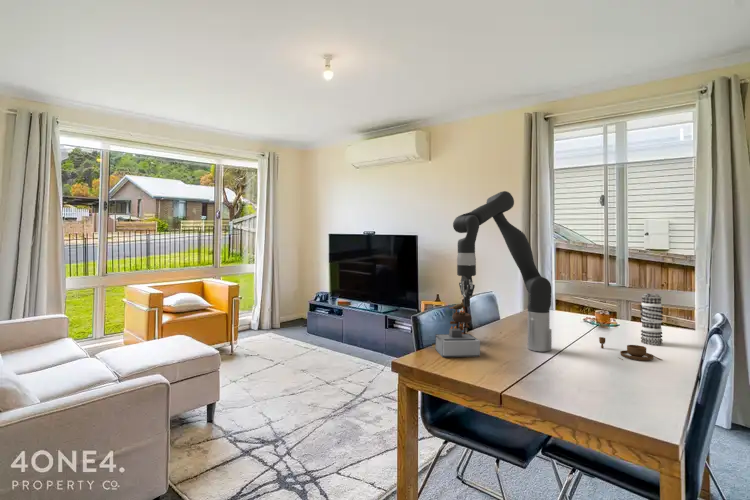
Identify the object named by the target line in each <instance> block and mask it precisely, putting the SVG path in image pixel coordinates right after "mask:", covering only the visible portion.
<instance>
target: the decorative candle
mask: <svg viewBox="0 0 750 500" xmlns="http://www.w3.org/2000/svg"><path fill="white" fill-rule="evenodd" d="M639 308H640V321H641V329H640V332H641V333H640V335H641V337H640V342H641V343H642V344H644V345H649V346H657V347H658V346H662V345H663V332H662V331H663V330H662V323H663V320H664V319H663V317H664V316H663V315H662V314H663V313H664V311H663V310H664V308H663V307H662V297H661V296H660V294H658V293H652V292H651V293H648V292H646V293H644V294H643V295H641V305H640V306H639Z"/></svg>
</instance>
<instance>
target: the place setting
mask: <svg viewBox="0 0 750 500" xmlns="http://www.w3.org/2000/svg"><path fill="white" fill-rule="evenodd" d="M598 341H599V343H600V344H601V345H600V348H601V349H604V345H605V344H606V337H601V336H600V337H598ZM619 353H620V356H621V357H623V358H625V359H628V360H632V361H633V360H634V361H638V362H639V361H641V362H649V361H652V360H653V359H654V358H656V359H658V360H660V361H663V359H662V358H659V357H657V356H655V355H653V354H652V353H648V352H647V347H646V346H643V345H637V344H627V345H626V349H625V350H620V352H619ZM617 359H620V360H621V361H624V359H622V358H620V357H617Z"/></svg>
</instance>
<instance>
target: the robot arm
mask: <svg viewBox="0 0 750 500" xmlns="http://www.w3.org/2000/svg"><path fill="white" fill-rule="evenodd" d="M514 205H515V200H514V197H513V195H512V193H511V192H509V191H506V190H504V191H500V192H498V193H496V194H494V195H492V196H490V197H488V198H487V199H486V203H485V204H482V205H480V206H479V207H477V208H475V209H473V210H471V211H469V212H466V213H463V214H461V215H458V216H456V217H455V219H454V220H453V223H452V227H453V230H454V231H455V232H456V233H459V234H465V233H466V235H465V237H463V238H460V239H458V240H457V256H456V257H457V258H456V271H457V272H456V274H457V276H459V277H461V278H460V282H458V286H459V289H460V290H459V291H460V293H461V296H462V298H463V303H464V308H465V307H470V306H471V297H472V296H473V294H474V290H475V287H476V286H475V285H476V284H473V283H474V281H473V277H475V276H476V275H477V261H476V260H477V258H476V240H477V237H478V233H479V228H480V226H481V225H483V224H485V223H486V222H487V221H489V220H490V219H493V221H494V222H495V224H496V226H497V228H498V229H499V231H500V233H501V235H502V237H503V240H504V241H505V244H506V246H507V248H508V252H510V255H511V256H512V257H511V258H513V261H514V262H515V264H516V266H517V267H518V270H519V272H520V273H521V277H522V280H523V282H524V286H525V288H526V291H527V292H528V294H529V302H528V305H527V349H528V350H530V351H533V352H534V351H535V352H550V351H552V348H553V347H552V340H553V339H552V337H553V336H552V329H551V328H550V326H551V325H550V323H551V322H550V311H551V310H550V308H551V306H552V284H551V282H550V280H549V279H547V278H546V277H545V276H544V277H543V276H542V275H541V274H540V272H539V271H538V268H537V266H536V263H535V259H534V255H533V250H532V248H531V244H530V243H529V240H528V238H527V237H526V234H525V233H524V232H523V231H522V230H520V229H519V228H517V227H516V226H514V225H513V224H512V223H510V222H509V221H508V219H507V218H506V217H505V214H504V213H505V212H508V211H509V210H511V209H513V207H514Z"/></svg>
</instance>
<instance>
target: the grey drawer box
mask: <svg viewBox="0 0 750 500" xmlns="http://www.w3.org/2000/svg"><path fill="white" fill-rule="evenodd" d="M462 332H463V330H460V329H459V328H458V329H454V328H453V329H451V328H449V333H447V334H446V333H444V334H443V333H441V334H440V333H439V334H435V351H436V352H437V353H438V354H439V355H440V356H441V357H442V358H476V357H477V358H478V357H479V358H480V356H481V354H480V355H459V356H444V355H443V341H473V340H479V341H480V342H481V340H480V339H479V338H477V337H475V336H473V335H472V334H470V333H466V334H462Z"/></svg>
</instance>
